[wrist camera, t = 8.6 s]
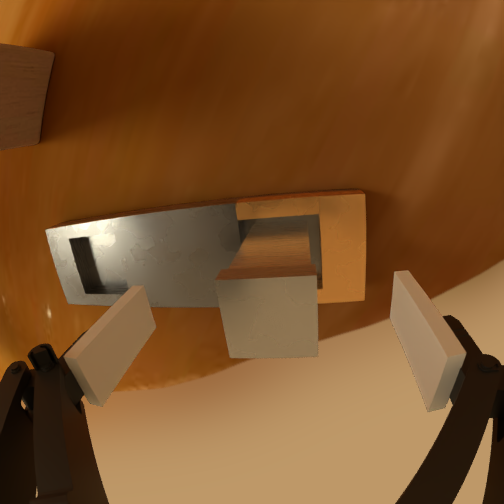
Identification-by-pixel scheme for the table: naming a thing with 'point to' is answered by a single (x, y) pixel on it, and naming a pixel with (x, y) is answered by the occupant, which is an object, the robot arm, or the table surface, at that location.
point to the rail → (206, 247)
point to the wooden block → (22, 94)
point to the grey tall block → (271, 294)
